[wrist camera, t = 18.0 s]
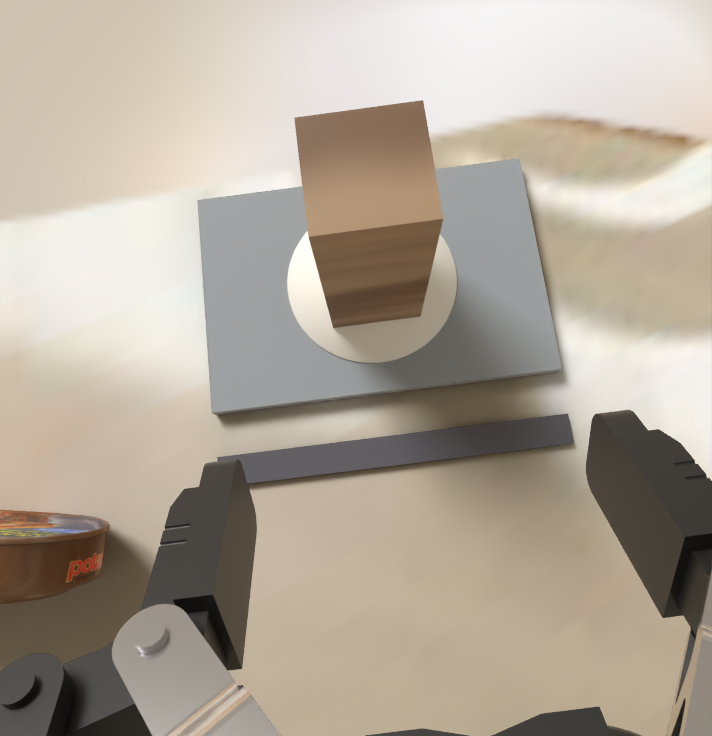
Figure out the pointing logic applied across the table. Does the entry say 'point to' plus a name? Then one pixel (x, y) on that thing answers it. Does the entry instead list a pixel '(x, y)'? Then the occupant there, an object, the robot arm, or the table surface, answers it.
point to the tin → (48, 553)
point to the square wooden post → (370, 209)
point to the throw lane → (377, 323)
